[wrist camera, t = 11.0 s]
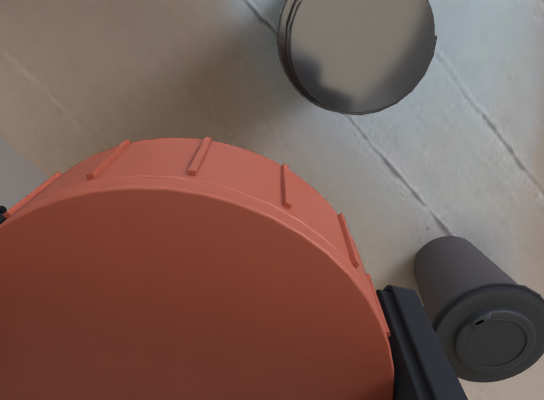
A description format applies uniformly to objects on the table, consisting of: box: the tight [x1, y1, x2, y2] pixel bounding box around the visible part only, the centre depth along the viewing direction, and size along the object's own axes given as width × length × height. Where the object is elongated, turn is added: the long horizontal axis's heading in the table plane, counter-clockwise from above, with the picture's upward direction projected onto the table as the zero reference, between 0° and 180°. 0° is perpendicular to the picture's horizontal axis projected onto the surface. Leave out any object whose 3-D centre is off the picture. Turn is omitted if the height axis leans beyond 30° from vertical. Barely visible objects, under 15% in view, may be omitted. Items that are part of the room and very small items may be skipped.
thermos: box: [277, 0, 437, 115], centre depth 25 cm, size 7×7×14 cm
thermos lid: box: [0, 137, 394, 400], centre depth 9 cm, size 7×7×2 cm
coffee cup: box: [414, 236, 544, 382], centre depth 34 cm, size 8×8×10 cm
